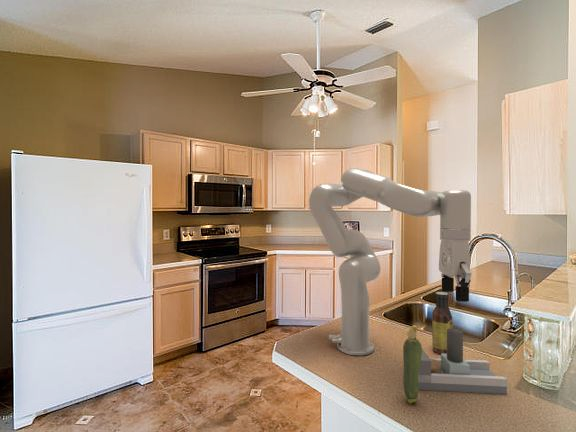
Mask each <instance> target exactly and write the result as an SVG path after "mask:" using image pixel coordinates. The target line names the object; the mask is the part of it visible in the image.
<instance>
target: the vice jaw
mask: <svg viewBox="0 0 576 432" xmlns="http://www.w3.org/2000/svg"><path fill="white" fill-rule="evenodd" d="M440 359H441V368H442V369H443V371H444V372H445V373H446V374H457V375H470V366H469V365H468V363H467V362H466V361H465V360H466V359H464V331H462V330H460V329H458V328H453V329H452V328H451V329H447V354H442V353H441V354H440Z"/></svg>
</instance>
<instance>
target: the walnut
mask: <svg viewBox="0 0 576 432" xmlns="http://www.w3.org/2000/svg"><path fill="white" fill-rule="evenodd" d="M430 360H431V373H436V374H441V362H440V361H438V360H435V359H430Z"/></svg>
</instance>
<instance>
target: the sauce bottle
mask: <svg viewBox="0 0 576 432" xmlns="http://www.w3.org/2000/svg"><path fill="white" fill-rule="evenodd" d="M434 295H435V307H434V309H433V310H432V315H431V316H432V320H431V321H432V322H431V326H432V328H431V329H432V330H431V331H432V332H431V333H432V337H431V338H432V339H431V340H432V350H433V351H434V352H435V353H437V354H439V355H441V353H442V354H447V329H451V328H452V329H454V328H453V327H454V326H453V323H454V322H453V315H452V312H451V310H450V307H449V297H450V295H449V293H448V292H444V291H436V292H435V294H434Z"/></svg>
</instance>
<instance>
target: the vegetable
mask: <svg viewBox="0 0 576 432" xmlns="http://www.w3.org/2000/svg"><path fill="white" fill-rule="evenodd" d="M417 332H419V329H418V325H417V324H413V325H412V326H410V328H409V329H408V331H407V336H408V338H406V339H405V341H404V343H403V346H402V347H403V348H402V350H403V351H402V353H403V356H402V357H403V382H402V385H403V392H404V396H405V397H406V399H407V402H408V403H409V405H412V404H411V403H416V402H417V400H418V397H419V390H418V388H419V377H418V375H419V367H420V363H421V356H422V349H423V347H422V343H421V342H420V341H419V339H418V338H417Z"/></svg>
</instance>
